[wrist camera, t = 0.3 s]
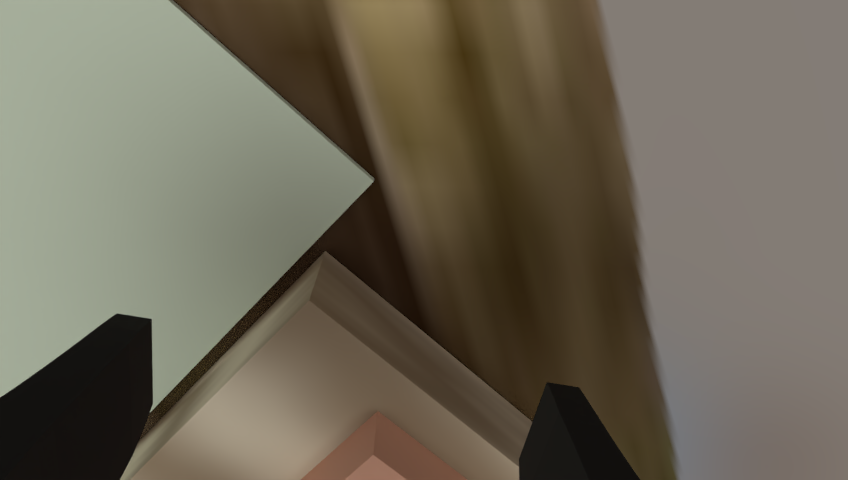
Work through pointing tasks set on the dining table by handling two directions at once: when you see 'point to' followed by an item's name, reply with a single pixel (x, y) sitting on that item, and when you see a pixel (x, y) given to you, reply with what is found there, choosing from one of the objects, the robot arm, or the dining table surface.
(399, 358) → the deck
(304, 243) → the mat
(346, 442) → the tile
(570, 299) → the dining table surface
